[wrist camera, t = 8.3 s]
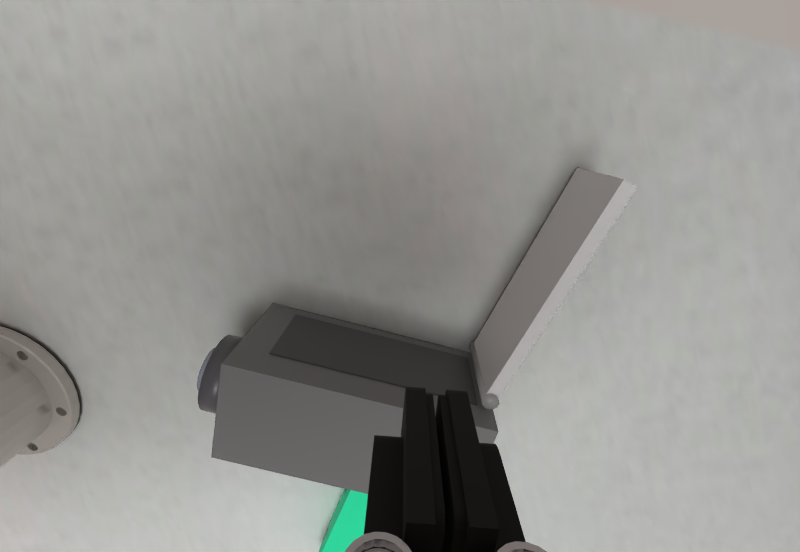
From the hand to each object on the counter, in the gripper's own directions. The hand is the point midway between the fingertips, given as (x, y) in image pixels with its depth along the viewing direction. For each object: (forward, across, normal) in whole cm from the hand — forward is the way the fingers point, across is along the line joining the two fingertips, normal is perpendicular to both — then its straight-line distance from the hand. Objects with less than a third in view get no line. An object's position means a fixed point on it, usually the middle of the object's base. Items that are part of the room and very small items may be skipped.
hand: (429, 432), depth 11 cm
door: (+17, -8, +1) cm, 19 cm away
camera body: (+18, +4, +9) cm, 20 cm away
